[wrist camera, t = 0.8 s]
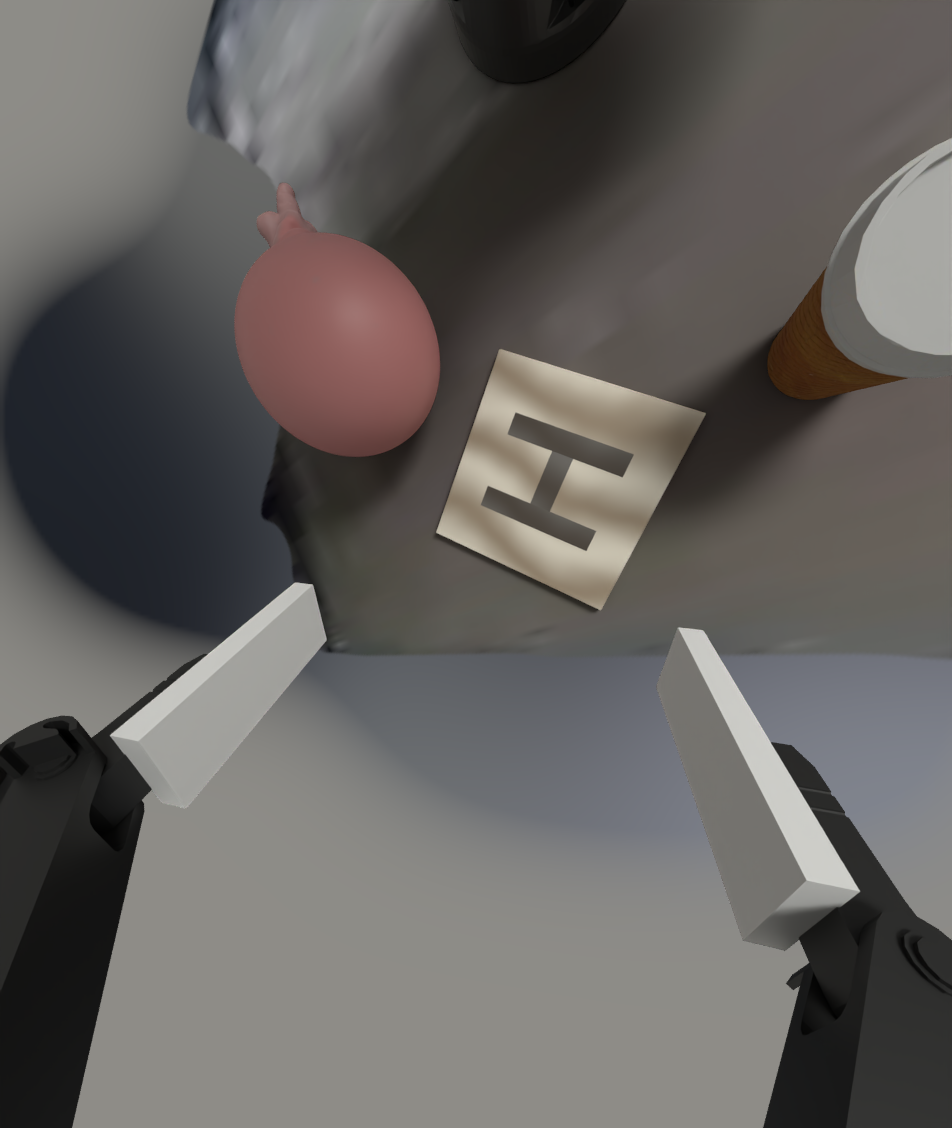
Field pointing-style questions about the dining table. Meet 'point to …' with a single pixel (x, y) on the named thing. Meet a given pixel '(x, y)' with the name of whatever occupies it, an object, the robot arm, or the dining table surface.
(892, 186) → the disposable coffee cup
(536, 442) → the board
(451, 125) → the dining table surface
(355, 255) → the balloon
